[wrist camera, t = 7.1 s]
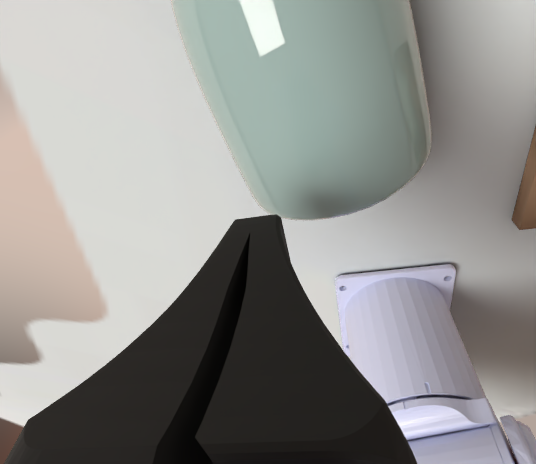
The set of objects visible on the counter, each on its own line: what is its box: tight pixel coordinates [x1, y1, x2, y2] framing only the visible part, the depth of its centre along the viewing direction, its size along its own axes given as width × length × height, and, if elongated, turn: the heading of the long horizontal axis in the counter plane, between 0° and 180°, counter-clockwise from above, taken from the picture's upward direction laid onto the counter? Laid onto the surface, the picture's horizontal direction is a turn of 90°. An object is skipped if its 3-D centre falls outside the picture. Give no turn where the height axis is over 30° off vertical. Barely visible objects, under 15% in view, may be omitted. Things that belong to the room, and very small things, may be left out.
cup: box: [171, 0, 432, 220], centre depth 14 cm, size 8×8×10 cm
